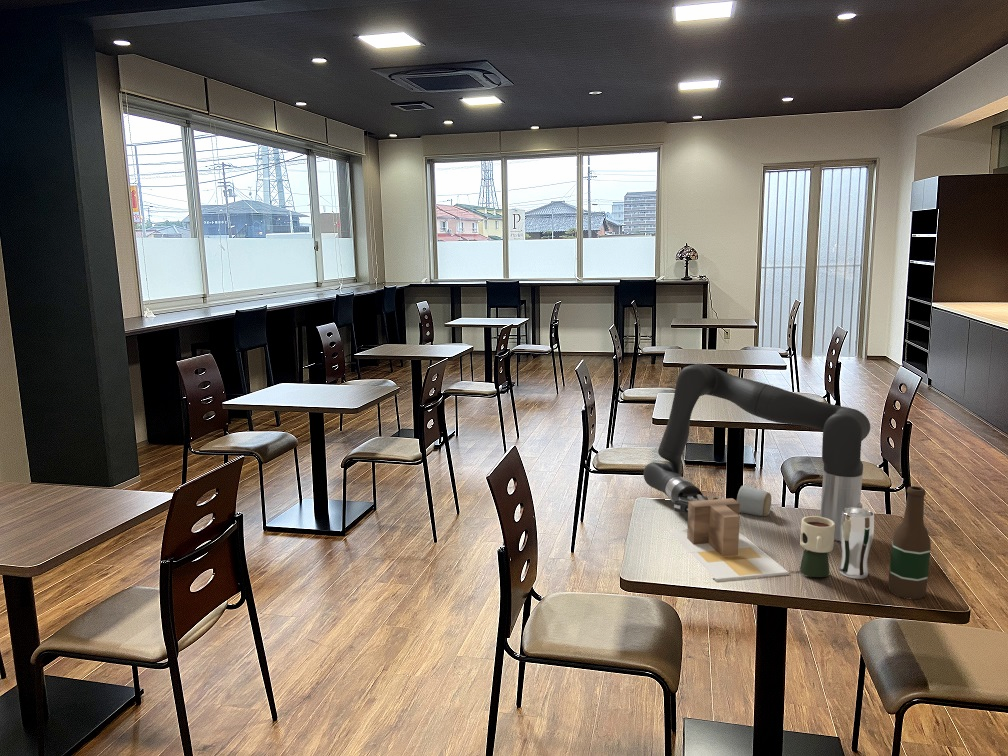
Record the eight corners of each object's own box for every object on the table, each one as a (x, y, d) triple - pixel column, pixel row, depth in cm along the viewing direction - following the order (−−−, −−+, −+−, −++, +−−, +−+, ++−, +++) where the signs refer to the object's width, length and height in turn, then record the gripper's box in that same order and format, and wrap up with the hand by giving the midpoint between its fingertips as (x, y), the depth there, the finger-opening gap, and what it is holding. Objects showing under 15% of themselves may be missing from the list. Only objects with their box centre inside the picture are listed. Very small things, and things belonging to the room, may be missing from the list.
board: (667, 532, 203) (667, 530, 203) (730, 527, 206) (730, 525, 206) (715, 581, 175) (715, 578, 175) (788, 574, 178) (788, 571, 178)
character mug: (796, 562, 184) (800, 511, 181) (828, 566, 182) (832, 514, 179) (799, 582, 174) (803, 528, 171) (833, 586, 171) (837, 532, 169)
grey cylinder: (765, 521, 210) (766, 494, 208) (734, 515, 214) (736, 489, 212) (774, 509, 218) (776, 484, 217) (745, 504, 223) (746, 479, 221)
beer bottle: (933, 600, 165) (944, 494, 160) (897, 600, 165) (907, 494, 160) (915, 583, 172) (925, 482, 168) (880, 583, 173) (889, 482, 168)
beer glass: (867, 582, 173) (873, 519, 170) (834, 575, 177) (839, 514, 174) (871, 570, 179) (877, 510, 176) (839, 564, 183) (844, 504, 180)
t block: (687, 538, 197) (688, 501, 195) (730, 534, 199) (732, 498, 197) (707, 557, 186) (708, 518, 184) (753, 553, 188) (755, 515, 186)
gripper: (661, 482, 212) (686, 503, 195) (706, 479, 214) (734, 500, 197) (660, 508, 213) (685, 531, 197) (705, 504, 216) (733, 527, 199)
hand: (710, 515), depth 197 cm, fingers closed
